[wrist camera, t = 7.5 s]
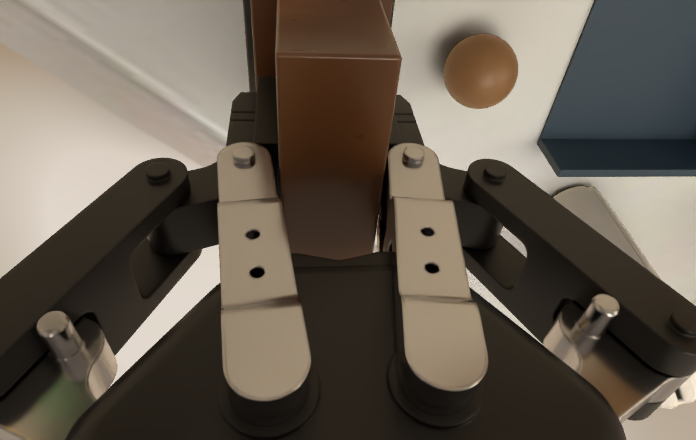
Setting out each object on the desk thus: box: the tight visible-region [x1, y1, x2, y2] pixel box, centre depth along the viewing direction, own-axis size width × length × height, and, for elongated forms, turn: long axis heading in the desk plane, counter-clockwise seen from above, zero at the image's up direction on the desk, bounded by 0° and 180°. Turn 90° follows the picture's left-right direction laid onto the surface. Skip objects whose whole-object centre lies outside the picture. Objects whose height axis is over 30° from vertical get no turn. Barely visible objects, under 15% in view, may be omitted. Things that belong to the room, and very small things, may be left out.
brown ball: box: [444, 34, 518, 109], centre depth 24 cm, size 4×4×4 cm
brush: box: [243, 0, 402, 260], centre depth 15 cm, size 5×13×9 cm, turn 176°
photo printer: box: [553, 186, 696, 409], centre depth 32 cm, size 10×4×12 cm, turn 33°
